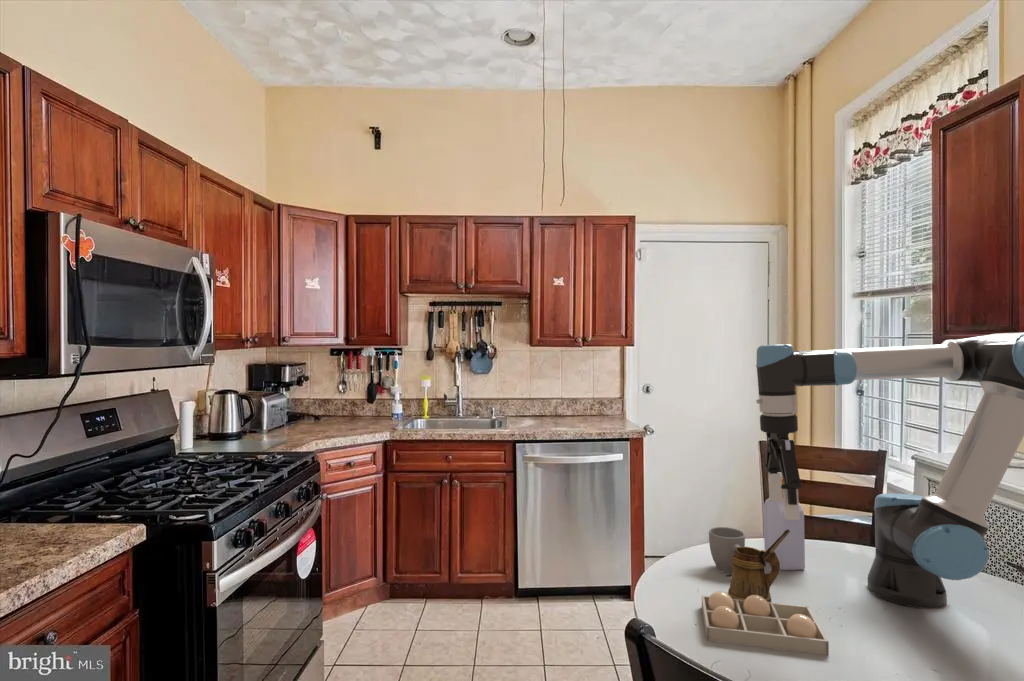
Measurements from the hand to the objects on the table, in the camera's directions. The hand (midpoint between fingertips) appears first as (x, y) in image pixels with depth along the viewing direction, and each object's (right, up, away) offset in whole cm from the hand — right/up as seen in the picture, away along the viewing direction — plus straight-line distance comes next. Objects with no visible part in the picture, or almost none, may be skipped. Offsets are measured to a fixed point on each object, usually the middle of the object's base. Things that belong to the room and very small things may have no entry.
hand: (783, 510), depth 122 cm
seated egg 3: (-4, -21, -15) cm, 26 cm away
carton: (-10, -22, -9) cm, 26 cm away
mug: (-3, -23, +21) cm, 31 cm away
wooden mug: (-4, -22, +4) cm, 23 cm away
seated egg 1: (-15, -22, -4) cm, 27 cm away
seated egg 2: (-17, -21, -11) cm, 30 cm away
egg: (-9, -21, -6) cm, 24 cm away
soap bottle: (+12, -23, +26) cm, 36 cm away
